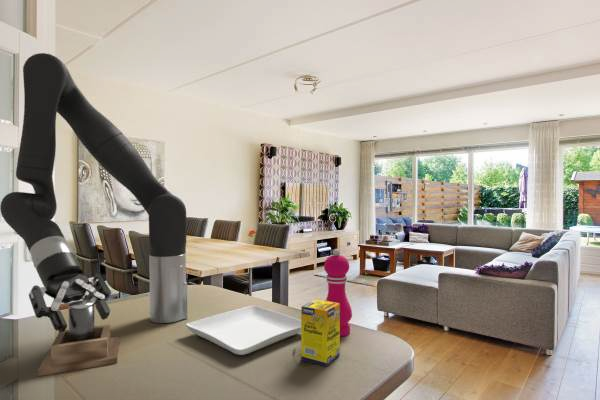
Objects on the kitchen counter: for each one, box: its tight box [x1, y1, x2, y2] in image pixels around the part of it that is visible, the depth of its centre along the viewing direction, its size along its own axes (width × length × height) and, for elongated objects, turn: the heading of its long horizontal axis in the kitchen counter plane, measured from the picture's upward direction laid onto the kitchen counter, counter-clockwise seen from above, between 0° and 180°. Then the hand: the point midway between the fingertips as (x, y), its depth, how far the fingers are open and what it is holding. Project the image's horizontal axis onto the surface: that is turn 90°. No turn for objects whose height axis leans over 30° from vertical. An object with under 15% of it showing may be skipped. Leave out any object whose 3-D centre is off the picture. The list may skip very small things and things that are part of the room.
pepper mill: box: [323, 248, 353, 338], centre depth 89 cm, size 7×7×20 cm
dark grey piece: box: [68, 300, 95, 343], centre depth 76 cm, size 4×4×10 cm
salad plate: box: [185, 305, 301, 356], centre depth 87 cm, size 21×21×3 cm
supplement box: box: [300, 298, 341, 367], centre depth 75 cm, size 6×6×11 cm
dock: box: [37, 323, 120, 377], centre depth 76 cm, size 13×12×4 cm
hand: (86, 323), depth 75 cm, fingers open, 8 cm apart
